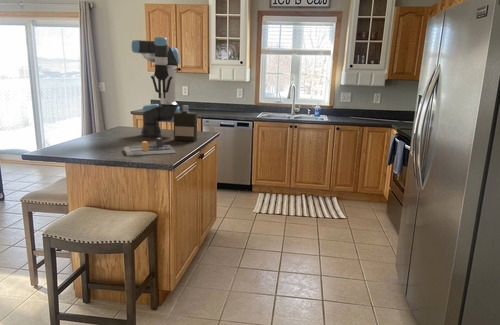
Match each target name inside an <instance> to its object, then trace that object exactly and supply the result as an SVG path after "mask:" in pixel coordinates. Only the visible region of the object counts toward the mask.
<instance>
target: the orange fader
mask: <svg viewBox="0 0 500 325" xmlns="http://www.w3.org/2000/svg"><path fill="white" fill-rule="evenodd" d="M141 146H142V150H143V151H148V146H149V142H148V141H147V140H146V141H145V140H144V141H141Z"/></svg>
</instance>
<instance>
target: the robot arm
mask: <svg viewBox="0 0 500 325" xmlns="http://www.w3.org/2000/svg"><path fill="white" fill-rule="evenodd" d="M131 51H132V52H133V53H134V54H140V55H142V57H143V58H144V59H145V60H146V61H149V62H150V63H151V62H152V63H154V64H155V65H154V74H152V75H150V78H151V80H152V83H153V86H154V92H156V93H158V99H160V104H161V105H159V103H153V104H152V103H151V104H145V105H143V107H142V127H141V132H140V136H142V137H145V138H160V137H162V134H163V133H162V130H161V127H160V123H174V113H175V112H181V110H180V108H181V107H180V106H179V104H178V103H177V102H176V101H177V100H176V98H177V97H176V94H177V92H176V90H177V89H176V82H177V81H176V69H177V68H178V66H179V65H180V64H181V62H180V54H179V50H178V48H177V47H173V46H170V45H169V43H168V39H167V37H160V36H159V37H157V36H155V37H154V40H139V39H136V40H135V39H134V40H132V42H131ZM156 79H157V82H156ZM157 84H158V85H157Z"/></svg>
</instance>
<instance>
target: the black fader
mask: <svg viewBox="0 0 500 325" xmlns="http://www.w3.org/2000/svg"><path fill="white" fill-rule="evenodd" d="M155 141H156V142H155V146H157V147H162V145H163V138H162V137H155Z"/></svg>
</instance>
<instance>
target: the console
mask: <svg viewBox="0 0 500 325" xmlns="http://www.w3.org/2000/svg"><path fill="white" fill-rule="evenodd" d="M123 150H124V153H125V155H126V156H127V157H128V156H147V155H148V156H149V155H166V154H176V150H175V148H173V146H171V144H162V147H157V146H156V145H148V151H143V150H142V145H138V146H136V145H135V146H124V147H123Z"/></svg>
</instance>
